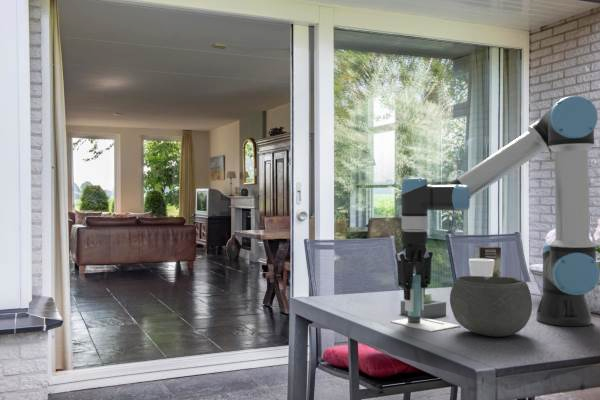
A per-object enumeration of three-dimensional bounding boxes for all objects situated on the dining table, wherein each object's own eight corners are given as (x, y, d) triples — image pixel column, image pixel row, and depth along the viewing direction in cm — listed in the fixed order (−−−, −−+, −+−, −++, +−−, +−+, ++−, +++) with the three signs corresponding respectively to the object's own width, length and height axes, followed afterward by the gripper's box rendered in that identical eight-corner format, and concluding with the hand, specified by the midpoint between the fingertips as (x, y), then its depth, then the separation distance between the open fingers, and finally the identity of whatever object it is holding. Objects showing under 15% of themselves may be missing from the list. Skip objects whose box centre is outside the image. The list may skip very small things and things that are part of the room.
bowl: (454, 342, 156) (454, 283, 156) (446, 325, 177) (446, 273, 177) (540, 345, 154) (540, 285, 153) (521, 327, 174) (521, 274, 174)
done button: (434, 309, 193) (434, 293, 193) (423, 311, 190) (423, 295, 190) (422, 307, 197) (422, 291, 197) (411, 309, 194) (411, 293, 194)
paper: (460, 326, 175) (460, 325, 175) (431, 331, 168) (431, 330, 168) (419, 317, 188) (419, 316, 188) (390, 322, 181) (390, 320, 181)
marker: (423, 322, 179) (423, 274, 179) (414, 324, 177) (414, 275, 177) (414, 320, 182) (414, 273, 182) (404, 321, 180) (405, 274, 180)
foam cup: (463, 293, 235) (464, 259, 235) (476, 290, 241) (477, 257, 241) (486, 296, 228) (486, 261, 228) (498, 293, 234) (499, 259, 234)
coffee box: (479, 285, 255) (479, 247, 255) (474, 283, 262) (474, 246, 262) (501, 285, 256) (501, 247, 256) (495, 283, 262) (495, 246, 262)
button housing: (446, 314, 192) (446, 302, 192) (423, 318, 186) (423, 305, 186) (422, 310, 200) (422, 297, 200) (400, 313, 195) (400, 300, 194)
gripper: (424, 229, 187) (424, 305, 187) (384, 230, 178) (384, 311, 178) (443, 230, 181) (443, 309, 181) (403, 232, 171) (403, 315, 172)
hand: (414, 309), depth 179 cm, fingers closed on marker, 3 cm apart
